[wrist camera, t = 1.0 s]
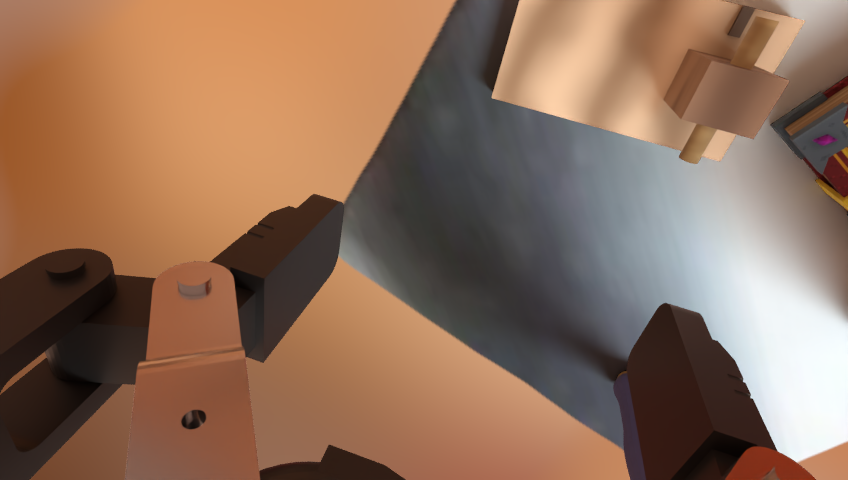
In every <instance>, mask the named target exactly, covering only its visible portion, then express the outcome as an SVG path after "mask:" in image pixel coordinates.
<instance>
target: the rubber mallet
mask: <svg viewBox="0 0 848 480" xmlns="http://www.w3.org/2000/svg"><path fill="white" fill-rule="evenodd" d="M614 394H615V396H616V398H617V400H618V402H619V405H620V411H621V417H622V422H623V430H624V453H625V459H626V464H627V468H628V472H629V476H630V480H646V476H645V471H644V465H643V459H642V454H641V448H640V443H639V437H638V432H637V426H636V421H635V415H634V410H633V404H632V398H631V393H630V387H629V382H628V376H627V371H624V372H622V373H620V374H619V375H618V377H617V379H616V381H615V383H614Z"/></svg>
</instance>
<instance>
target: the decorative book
mask: <svg viewBox="0 0 848 480" xmlns="http://www.w3.org/2000/svg"><path fill="white" fill-rule="evenodd" d="M771 126H772V127H773V128H774V130H775V131H776V132H777V133H778V134H779V135H780V137H781V138H782V139H783V140H784V141H785V142H786V144H787V145H788V146H789V147H790V148H791V149H792V151H793V152H794V153H795V154H796V155H797V156H798V157H799V158H800V159H803V160H804V161H805V162H806V163H807V164H808V166H809V167H810V168H811V169H812V170H813V172H814V173H815V174H816V175H817V176H818V177H819V178H818V179H817V180H815V181H816V182H817V183H818V184H819V186H820V187H821V188H822V189H823V190H824V192H825V193H826V194H828V195H829V196H830V197H831V198H833V199H834V200H835V201H837V202H838V203H839V204H840V205H842V206H843V207H844V208H845V209H846V211H847V212H848V76H847V77H846V78H844V79H843V80H841V81H840V82H838V83H837V84H835V85H834V86H832V87H831V88H829V89H828V90H826V91H825V92H824V93H821V92H819V93H817V94H816V95H814V96H813V97H811V98H810V99H808V100H807V101H805V102H804V103H802V104H801V105H800V106H798V107H797V108H795V109H794V110H792V111H791V112H789V113H788V114H786V115H785V116H783V117H782V118H780V119H779V120H777V121H776V122H774V123H773V124H771ZM847 215H848V214H847Z"/></svg>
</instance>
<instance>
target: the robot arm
mask: <svg viewBox="0 0 848 480" xmlns="http://www.w3.org/2000/svg"><path fill="white" fill-rule="evenodd" d="M343 213H344V205H343V203H342V202H339V201H336V200H333V199H330V198H326V197H323V196H320V195H316V194H313V195H311V196H310V197H309V198H308V199H307V200H306V201H305V202H303V203H302V204H301V205H300V206H299V207H298V208H294V207H290V206H288V207H285V208H282V209H279V210H276V211H274V212H271V213H269V214H268V215H267V216H266V217H265V218H263V219H262V220H261V221H260V222H259V223H258V225H255V226H254V227H252V228H251V229H250V230H249V231H248V232H247V234H246V233H245V234H244V235H242V236H241V237H240V238H239V239H238V240H236V241H235V242H234V243H233V244H231V245H230V246H229V247H228V248H227V249H225V250H224V251H223V252H222V253H220V254H219V255H218V256H217V257H215V258H214V259H213V260H212V261H210V262H203V261H197V262H196V261H194V262H187V263H182V264H179V265H175V266H173V267H171V268H169V269H167V270H165V271H164V272H162V273H161V274H160V275H159V276H158V277H157V278H145V277H135V276H124V275H115V274H114V269H113V264H112V261H111V259H110V258H109V257H108V256H107V255H106V254H104V253H102V252H99V251H96V250H92V249H65V250H59V251H55V252H52V253H48V254H45V255H42V256H40V257H38V258H36V259H34V260H32V261H30V262H29V263H27V264H25V265H24V266H22V267H20V268H18V269H17V270H15V271H13V272H12V273H10V274H8V275H6V276H5V277H3V278H1V279H0V392H1V390H2V389H3V387H4V386H5V385H6V383H7V382H8V381H9V380H10V379H11V378H12V377H13V376H14V375H15V374H17V373H18V372H19V371H20V370H22V369H23V368H24V367H26V366H27V365H28V364H30V363H31V362H32V361H33V360H35V359H36V358H37V357H38V356H40V355H41V354H42V353H43V352H45V353H46V356H47V358H45V359H44V360H43V361H42V362H41V363H39V364H38V365H37V366H35V367H34V368H33V369H32V370H30V371H29V372H28V373H27V374H25V375H24V376H23V377H22V378H20V379H19V380H18V381H17V382H15V383H14V384H13V385H12V386H11V387H9V388H8V389H7V390H6V391H5V392H3V393H2V394H1V395H0V480H29V479H31V477H33V476H34V474H35V473H36V472H37V471H38V470H39V469H40V468H41V467H42V466H43V465H44V464H45V463H46V462H47V461H48V460H49V459H50V458H51V457H52V456H53V455H54V454H55V453H56V452H57V451H58V450H59V449H60V448H61V447H62V446H63V445H64V444H65V443H66V442H67V441H68V440H69V438H71V437H72V436H73V435H74V434H75V432H76V431H77V430H78V429H79V428H80V427H81V426H82V425H83V424H84V423H85V422H86V421H87V420H88V419H89V418H90V417H91V416H92V415H93V414H94V413H95V412H96V411H97V410H98V409H99V408H100V407H101V406H102V405H103V404H104V403H105V402H106V400H108V399H109V398H110V397H111V396H112V394H114V392H115V391H116V390H117V389H118V388H119V387H120V386H121V385H122V384H135V393H134V401H133V411H132V419H131V429H130V437H129V447H128V455H127V465H126V474H125V480H405V479H404V478H402V477H401V476H399V475H398V474H397V473H395V472H394V471H392V470H391V469H390V468H388V467H387V466H385V465H383V464H380V463H377V462H375V461H372V460H369V459H367V458H364V457H361V456H358V455H356V454H353V453H350V452H348V451H345V450H342V449H339V448H337V447H334V446H331V445H329V446H328V448H327V450H326V452H325V454H324V456H323V458H322V460H321V462H293V463H287V464H280V465H277V466H273V467H269V468H266V469H263V470H260V471H259V465H258V457H257V448H256V440H255V433H254V425H253V415H252V408H251V399H250V390H249V382H248V374H247V365H246V357H249V358H252V359H254V360H257V361H260V362H263V363H264V361H265V360H266V359H267V357H268V356H269V355H270V354H271V352H272V351H273V350H274V348H275V347H276V346H277V344H278V343H279V342H280V340H281V339H282V338H283V336H284V335H285V334H286V332H287V331H288V330H289V328H290V327H291V326H292V325H293V323H294V322H295V321H296V320H297V318H298V317H299V316H300V314H301V313H302V312H303V310H304V309H305V308H306V306H307V305H308V304H309V303H310V301H311V300H312V299H313V297H314V296H315V295H316V293H317V292H318V291H319V290H320V288H321V287H322V285H323V284H324V283H325V282H326V280H327V279H328V278H329V276H330V275H331V273H332V272H333V270H334V267H335V265H336V262H337V258H338V254H339V247H340V238H341V230H342V222H343ZM627 376H628V382H629V387H630V393H631V398H632V404H633V410H634V415H635V421H636V426H637V432H638V437H639V443H640V448H641V454H642V459H643V465H644V471H645V476H646V480H816V479H815V478H814V477H813V476H812V475H811V474H810V473H809V472H808V471H807V470H805V469H804V468H803V467H802V466H801V465H799V464H798V463H796V462H795V461H794V460H792V459H791V458H789V457H787V456H785V455H784V454H782V453H779V452H778V451H777V449H776V447H775V445H774V443H773V441H772V439H771V437H770V434H769V432H768V430H767V428H766V426H765V424H764V422H763V420H762V417H761V415H760V413H759V411H758V409H757V407H756V405H755V403H754V400H753V399H751V398H750V396H751V394H750V392H749V390H748V388H747V386H746V383H744V382H743V377H742V375H741V373H740V371H739V368H738V366H737V364H736V362H735V360H734V359H733V358H732V357H731V356H730V355H729V353H728V352H727V351H726V350H725V349H724V348H723V347H722V345H721V344H720V343H719V342H718V341H715V340H712V338H711V336H710V333H709V331H708V329H707V326H706V324H705V322H704V319H703V317H702V316H701V314H699V313H697V312H694V311H691V310H687V309H684V308H681V307H678V306H674V305H671V304H668V303H664V304H662V305H661V306H659V308H658V309H657V310H656V312H655V313H654V315H653V317H652V318H651V320H650V321H649V323H648V325H647V326H646V328H645V329H644V331H643V332H642V334H641V336H640V337H639V339H638V340H637V342H636V344H635V345H634V347H633V349H632V350H631V353H630V355H629V359H628V364H627Z"/></svg>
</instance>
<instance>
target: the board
mask: <svg viewBox="0 0 848 480" xmlns="http://www.w3.org/2000/svg"><path fill="white" fill-rule="evenodd" d="M756 16H758V17H762V18H767V19H771V20H775V21H779V23H778V25H777V27H776V29H775V30H774V32H773V34H772V36H771V37H770V39H769V41H768V42H767V44H766V46H765V48H764V49H763V51H762V53H761V55H760V56H759V58H758V60H757V61H756V63H755V65H754V66H757V67H759V68H761V69H764V70H766V71H768V72H771V73H773V74H774V72H775V70H776V69H777V67H778V65H779V64H780V62H781V60H782V59H783V57H784V55H785V54H786V52H787V50H788V49H789V47H790V45H791V44H792V42H793V41H794V39H795V37H796V36H797V34H798V32H799V31H800V29H801V27H802V26H803V24H804V22H805V21H804V20H800V19H796V18H792V17H788V16H784V15H779V14H775V13H771V12H767V11H763V10H759V9H756V8H752V7H747V6H743V5H739V4H735V3H731V2H726V1H722V0H519V4H518V7H517V11H516V14H515V18H514V21H513V25H512V28H511V32H510V35H509V39H508V42H507V46H506V49H505V53H504V56H503V60H502V63H501V66H500V70H499V73H498V77H497V80H496V84H495V87H494V91H493V94H492V98H494V99H497V100H501V101H504V102H508V103H511V104H515V105H519V106H522V107H526V108H529V109H533V110H537V111H540V112H544V113H547V114H551V115H555V116H558V117H562V118H565V119H569V120H573V121H576V122H580V123H583V124H587V125H591V126H594V127H598V128H601V129H605V130H609V131H612V132H616V133H619V134H623V135H626V136H630V137H634V138H637V139H641V140H644V141H648V142H652V143H655V144H659V145H662V146H666V147H670V148H673V149H677V150H680V151H682V150H683V148H684V146H685V144H686V142H687V141H688V139H689V137H690V135H691V133H692V132H693V130H694V128H695V126H696V123H692V122H689V121H685V120H681V119H680V118H679V117H678V116H677V114H676V113H675V112H674V111H673V110H672V109H671V108H670V107H669V106H668V105H667V103H666V102H665V101H664V98H665V96H666V93H667V91H668V89H669V87H670V85H671V83H672V81H673V79H674V77H675V75H676V73H677V71H678V69H679V67H680V65H681V63H682V61H683V59H684V57H685V55H686V53H687V51H688V49H692V50H696V51H700V52H704V53H708V54H711V55H715V56H719V57H723V58H727V59H731V60H732V59H733V57H734V55H735V53H736V51H737V50H738V48H739V46H740V44H741V42H742V40H743V39H744V37H745V35H746V33H747V31H748V29H749V28H750V26H751V24H752V22H753V20H754V19H755V17H756ZM736 135H737V134H733V133H729V132H725V131H722V130H718V129H717V131H716V132H715V134H714V136H713V138H712V139H711V141H710V143H709V145H708V146H707V148H706V150H705V152H704V153H703V155H702V157H706V158H709V159H713V160H716V161H721V159H722V158H723V156H724V154H725V153H726V151H727V150H728V148H729V146H730V145H731V143H732V141H733V140H734V138H735V136H736Z"/></svg>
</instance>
